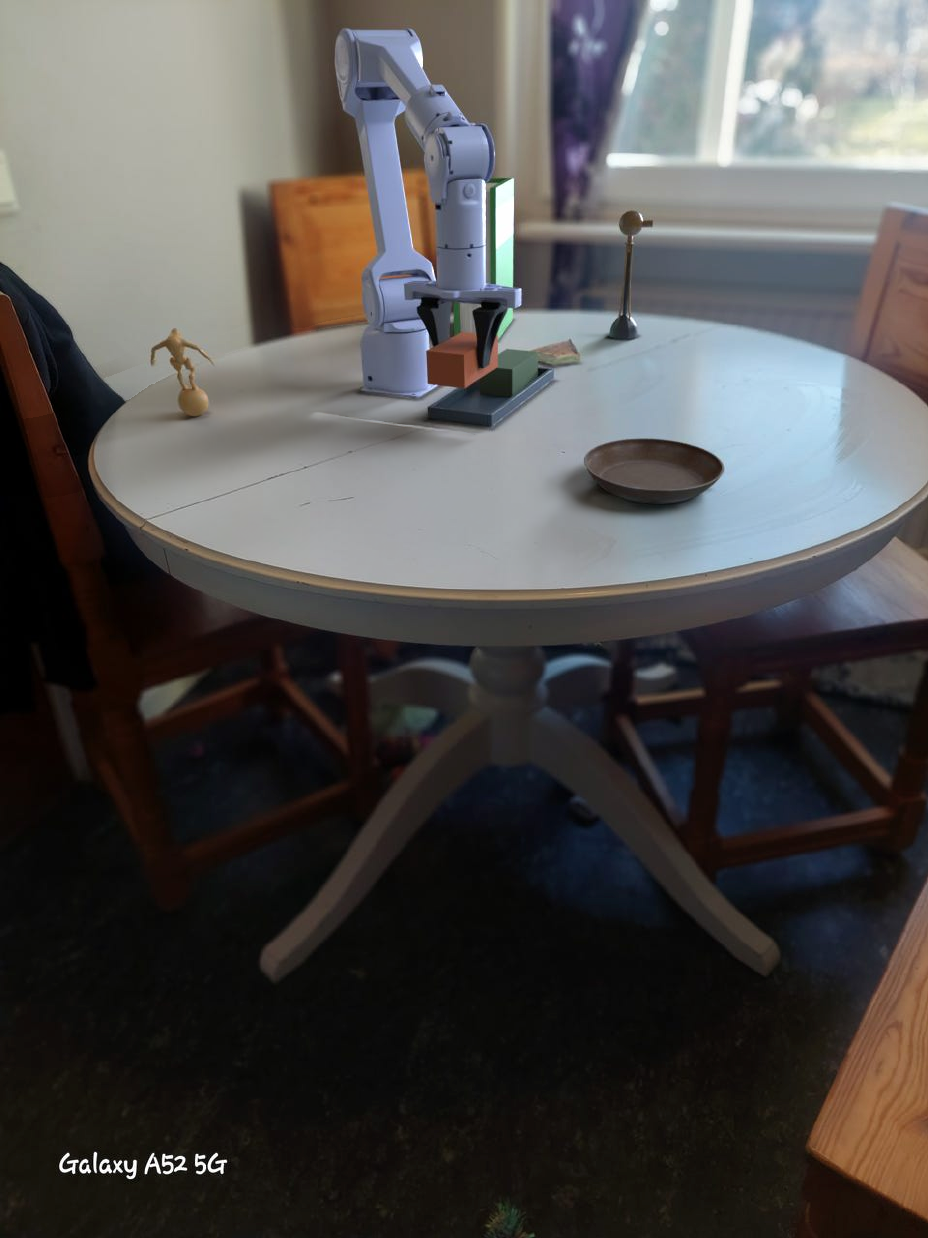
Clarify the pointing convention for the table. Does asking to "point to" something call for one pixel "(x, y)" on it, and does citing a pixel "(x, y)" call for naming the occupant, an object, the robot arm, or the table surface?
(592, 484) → the table surface
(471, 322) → the hardback book
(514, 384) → the rear pad
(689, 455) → the saucer
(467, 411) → the tray
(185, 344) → the figurine
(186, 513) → the table surface
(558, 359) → the tan flat wedge
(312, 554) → the table surface
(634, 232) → the ball topped stand
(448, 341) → the reddish orange rectangular block
